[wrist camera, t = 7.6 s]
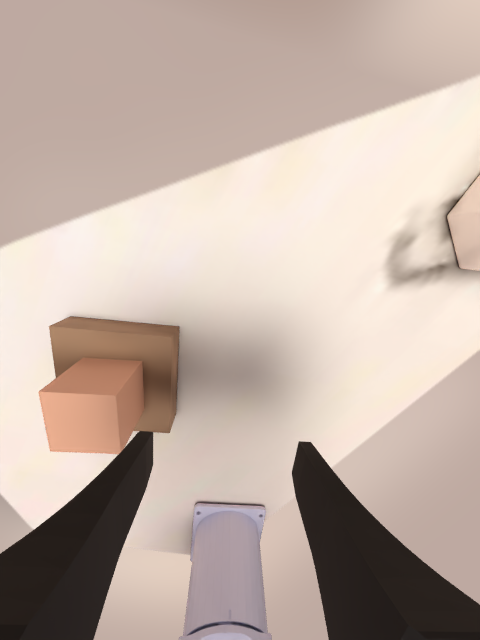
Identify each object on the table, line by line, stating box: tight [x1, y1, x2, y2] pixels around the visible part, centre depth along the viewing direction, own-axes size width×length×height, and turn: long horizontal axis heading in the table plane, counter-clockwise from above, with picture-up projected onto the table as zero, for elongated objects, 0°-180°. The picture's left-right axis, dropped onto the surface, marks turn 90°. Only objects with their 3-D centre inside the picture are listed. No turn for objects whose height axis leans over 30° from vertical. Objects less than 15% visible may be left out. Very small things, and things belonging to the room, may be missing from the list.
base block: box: [49, 317, 179, 433], centre depth 21 cm, size 9×9×2 cm
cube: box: [39, 358, 144, 454], centre depth 17 cm, size 4×4×4 cm
